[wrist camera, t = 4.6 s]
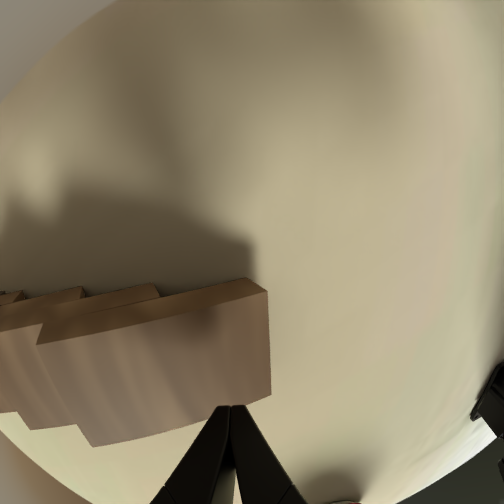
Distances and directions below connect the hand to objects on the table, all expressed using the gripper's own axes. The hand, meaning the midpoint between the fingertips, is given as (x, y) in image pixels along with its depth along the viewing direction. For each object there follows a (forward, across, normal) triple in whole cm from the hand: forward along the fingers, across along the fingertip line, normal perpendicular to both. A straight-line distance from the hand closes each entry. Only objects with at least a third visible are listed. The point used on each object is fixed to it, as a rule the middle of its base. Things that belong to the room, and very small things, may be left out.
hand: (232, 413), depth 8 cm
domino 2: (+4, +3, 0) cm, 5 cm away
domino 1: (+4, -1, 0) cm, 4 cm away
